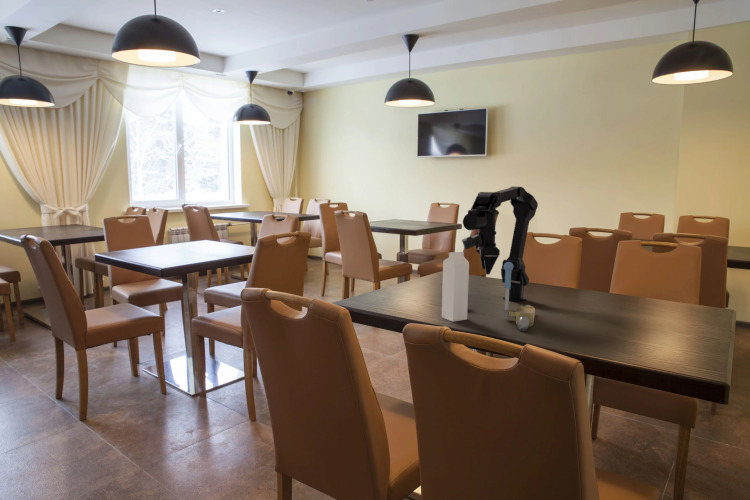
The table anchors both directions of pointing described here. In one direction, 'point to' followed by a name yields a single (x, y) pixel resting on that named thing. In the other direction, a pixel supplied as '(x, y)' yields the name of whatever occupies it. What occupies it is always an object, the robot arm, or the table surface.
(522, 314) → the valve
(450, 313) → the milk
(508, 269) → the lever
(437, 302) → the table surface
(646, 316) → the table surface
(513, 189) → the robot arm
